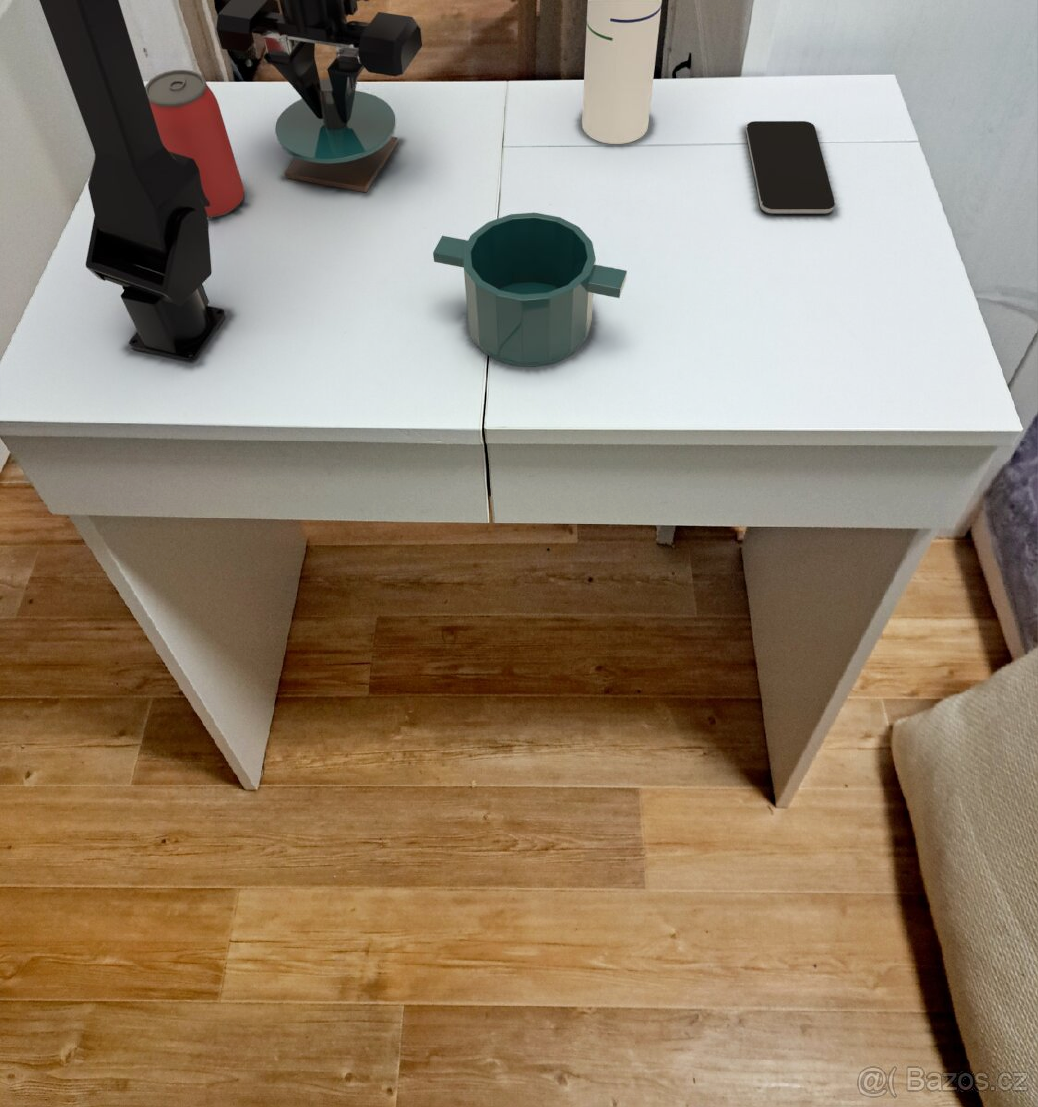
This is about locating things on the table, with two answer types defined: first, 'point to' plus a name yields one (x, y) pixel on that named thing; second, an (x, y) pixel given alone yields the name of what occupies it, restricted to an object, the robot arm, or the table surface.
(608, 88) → the cylindrical container
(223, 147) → the beer can
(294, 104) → the lid
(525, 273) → the pot
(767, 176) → the smartphone
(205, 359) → the table surface
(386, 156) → the trivet
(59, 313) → the table surface
